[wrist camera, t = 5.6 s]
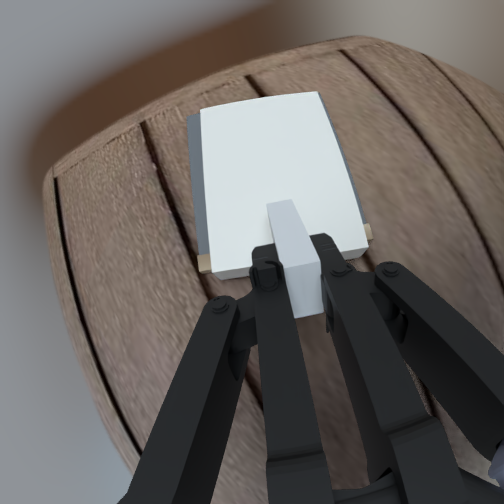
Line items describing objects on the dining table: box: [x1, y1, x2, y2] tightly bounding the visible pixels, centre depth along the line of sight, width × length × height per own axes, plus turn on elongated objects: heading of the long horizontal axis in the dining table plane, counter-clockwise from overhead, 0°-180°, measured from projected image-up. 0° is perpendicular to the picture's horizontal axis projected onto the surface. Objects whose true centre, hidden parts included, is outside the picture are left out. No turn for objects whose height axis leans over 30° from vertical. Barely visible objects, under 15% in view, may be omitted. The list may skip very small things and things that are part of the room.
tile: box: [200, 92, 369, 280], centre depth 21 cm, size 3×10×14 cm
